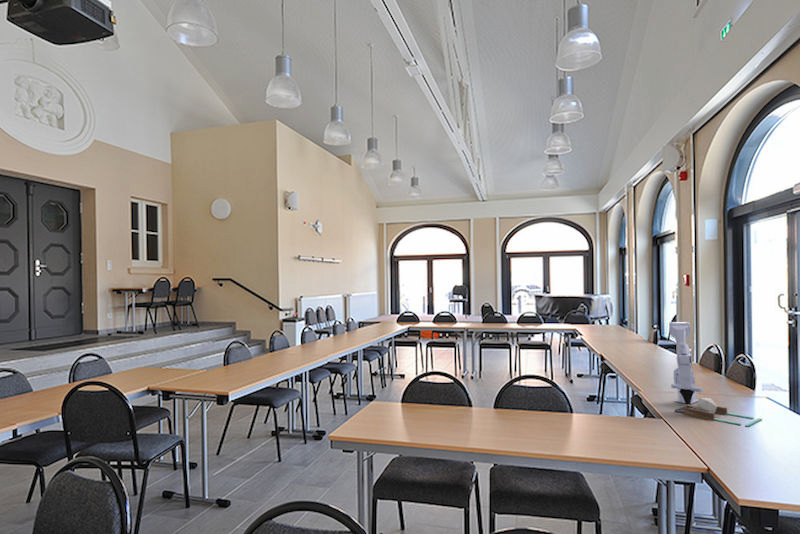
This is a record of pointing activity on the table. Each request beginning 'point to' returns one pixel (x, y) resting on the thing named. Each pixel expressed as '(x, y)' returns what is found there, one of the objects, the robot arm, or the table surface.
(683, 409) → the grey flat rectangular tray
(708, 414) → the channel
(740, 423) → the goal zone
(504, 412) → the table surface
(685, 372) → the robot arm
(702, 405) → the die
